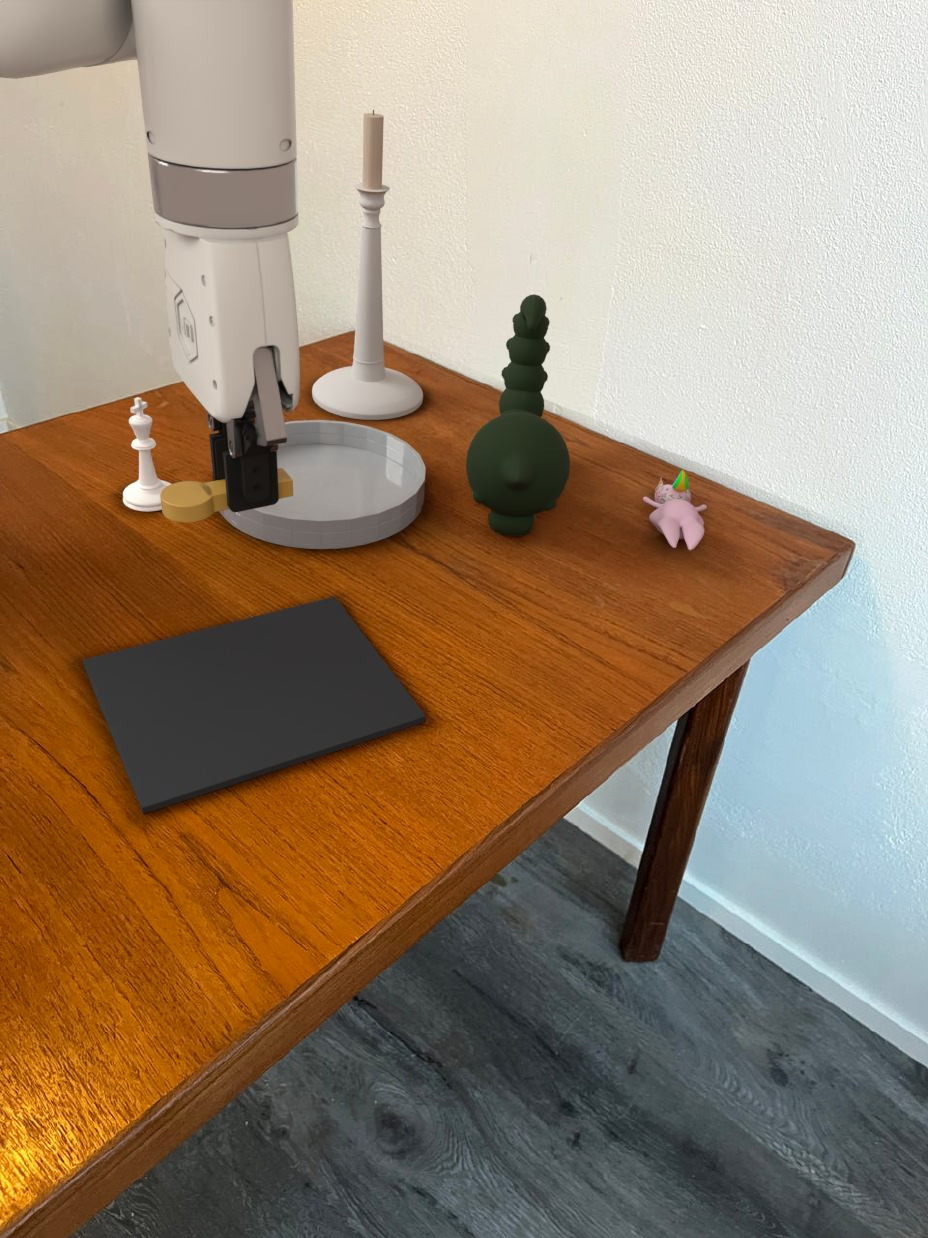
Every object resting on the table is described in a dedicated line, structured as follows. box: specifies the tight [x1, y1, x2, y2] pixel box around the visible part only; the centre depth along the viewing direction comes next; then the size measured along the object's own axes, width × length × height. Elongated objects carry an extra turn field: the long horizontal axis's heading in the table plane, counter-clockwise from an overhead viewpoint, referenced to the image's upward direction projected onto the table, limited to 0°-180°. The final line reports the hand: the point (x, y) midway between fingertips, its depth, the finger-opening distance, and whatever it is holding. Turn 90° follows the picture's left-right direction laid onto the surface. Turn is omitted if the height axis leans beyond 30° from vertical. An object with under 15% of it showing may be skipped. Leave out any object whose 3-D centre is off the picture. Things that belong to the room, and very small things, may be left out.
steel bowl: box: [211, 419, 427, 550], centre depth 93 cm, size 20×20×3 cm
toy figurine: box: [465, 293, 571, 537], centre depth 91 cm, size 9×19×25 cm
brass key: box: [160, 468, 293, 524], centre depth 61 cm, size 8×3×1 cm, turn 120°
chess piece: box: [122, 396, 172, 513], centre depth 88 cm, size 5×5×10 cm
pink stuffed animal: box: [642, 470, 708, 551], centre depth 92 cm, size 6×6×15 cm
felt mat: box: [82, 596, 427, 814], centre depth 70 cm, size 20×16×1 cm
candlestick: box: [311, 109, 424, 421], centre depth 104 cm, size 13×13×30 cm
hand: (246, 495), depth 62 cm, fingers closed on brass key, 1 cm apart
